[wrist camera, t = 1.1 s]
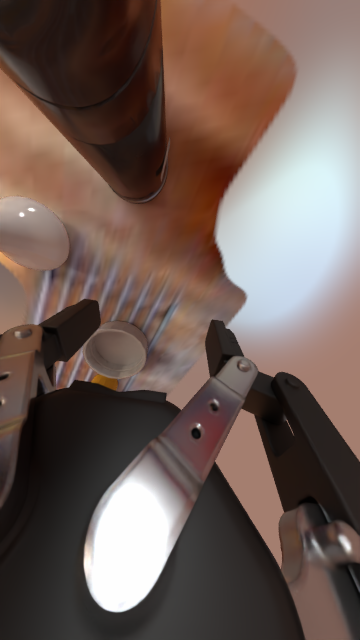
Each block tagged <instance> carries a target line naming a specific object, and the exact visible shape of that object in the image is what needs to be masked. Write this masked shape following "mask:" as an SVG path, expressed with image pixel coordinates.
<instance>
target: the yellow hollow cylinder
mask: <svg viewBox="0 0 360 640" xmlns="http://www.w3.org/2000/svg"><path fill="white" fill-rule="evenodd" d="M91 382H92V383H98V384H101V385H103V386H105V387H108V388H110V389H112V390H115V391H116V389H117V386H118V381H117V379H114V378H108V377H105V376H102V375H100V374H98V375H96V376H95V377H94V378H93V380H92V381H91Z"/></svg>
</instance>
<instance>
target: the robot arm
mask: <svg viewBox="0 0 360 640" xmlns="http://www.w3.org/2000/svg"><path fill="white" fill-rule="evenodd" d="M0 69H1V70H2V71H3V72H4V73H5V74H6V75H7V76H8V77H9V78H10V79H11V80H12V81H13V82H14V84H15V85H16V86H17V87H18V88H19V89H20V90H21V91H22V92H23V93H24V94H25V95H26V96H27V97H28V99H29V100H30V101H31V102H32V103H33V104H34V105H35V106H36V107H37V108H38V109H39V110H40V111H41V113H42V114H43V115H45V117H46V118H47V119H48V120H49V121H50V122H51V123H52V124H53V125H54V126H55V127H56V128H57V129H58V130H59V132H60V133H61V134H62V135H63V136H64V137H65V138H66V139H67V140H68V141H69V142H70V143H71V144H72V146H73V147H74V148H75V149H76V150H77V151H78V152H79V153H80V154H81V155H82V156H83V157H84V158H85V159H86V161H87V162H88V163H89V164H90V165H91V166H92V167H93V168H94V169H95V170H96V171H97V172H98V173H99V175H100V176H101V177H102V178H103V179H104V180H105V181H106V182H107V183H108V185H109V186H110V187H111V188H112V190H113V191H114V192H115V193H116V194H117V195H118V196H120V197H121V198H123V199H124V200H126V201H129V202H132V203H145V202H148V201H150V200H152V199H154V198H155V197H156V196H157V195H158V194H159V193H160V191H161V190H162V188H163V186H164V184H165V181H166V177H167V171H168V157H167V155H168V151H169V147H170V138H169V142H168V147H167V144H166V119H165V94H164V70H163V46H162V26H161V2H160V0H0ZM100 323H101V319H100V311H99V304H98V302H97V301H96V300H89V299H83V300H82V301H80V302H78V303H77V304H75V305H72V306H69V307H67V308H65V309H63V310H62V311H61V312H59V313H57V314H56V315H54V316H52V317H50V318H49V319H47V320H45V321H44V322H42V323H41V324H39V325H34V324H28V325H21V326H17V327H14V328H11V329H9V330H7V331H6V332H4V334H1V335H0V640H360V462H359V460H358V459H357V457H356V456H355V455H354V453H353V452H352V450H351V449H350V447H349V446H348V445H347V443H346V442H345V440H344V439H343V438H342V436H341V435H340V434H339V432H338V431H337V429H336V428H335V426H334V425H333V423H332V422H331V421H330V419H329V418H328V416H327V415H326V414H325V412H324V411H323V409H322V408H321V407H320V405H319V404H318V402H317V401H316V399H315V398H314V397H313V395H312V394H311V393H310V391H309V390H308V388H307V387H306V385H305V384H304V383H303V382H302V381H300V380H299V379H298V378H296V377H295V376H293V375H291V374H288V373H285V372H279V373H277V374H276V375H275V377H271V376H269V375H266V374H263V373H261V372H259V371H258V369H257V366H256V365H255V364H254V363H253V362H252V361H251V360H249V359H247V358H245V357H244V355H243V353H242V350H241V348H240V346H239V344H238V342H237V340H236V337H235V335H234V333H232V331H231V330H230V329H226V328H225V325H224V323H223V321H219V320H213V319H212V320H211V323H210V326H209V329H208V333H207V336H206V341H205V347H206V353H207V360H208V367H209V373H210V378H209V380H208V381H207V382H206V383H205V384H204V385H203V387H201V389H200V390H199V391H198V392H197V393H196V394H195V395H194V397H193V398H192V399H191V400H190V401H189V402H188V404H187V405H186V406H185V407H184V408H183V409H182V410H180V409H179V408H178V407H177V406H175V405H174V404H172V403H170V402H168V401H166V394H167V393H163V392H156V391H149V390H138V391H127V392H117V391H115V390H112V389H110V388H108V387H105V386H103V385H101V384H98V383H92V382H85V381H78V380H75V381H74V382H73V383H72V384H71V386H70V387H69V388H63V389H59V390H56V367H55V364H54V363H55V362H56V361H64V362H67V361H68V360H69V359H70V358H71V357H72V356H73V355H74V354H75V353H76V352H77V351H78V350H79V349H80V348H81V347H82V346H83V344H84V343H85V342H86V341H87V340H88V339H89V338H90V337H91V336H92V335H93V334H94V333H95V332H96V331H97V330H98V328H99V327H100ZM241 409H244V410H246V411H248V412H250V413H252V414H254V415H255V419H256V422H257V425H258V429H259V432H260V435H261V438H262V442H263V445H264V448H265V451H266V455H267V458H268V461H269V465H270V468H271V471H272V474H273V477H274V481H275V484H276V487H277V490H278V494H279V497H280V500H281V504H282V507H283V510H284V514H283V515H282V516H281V518H280V521H279V538H280V543H281V551H282V566H281V569H280V567H279V565H278V564H277V562H276V560H275V558H274V556H273V554H272V553H271V551H270V549H269V548H268V546H267V545H266V543H265V541H264V540H263V538H262V537H261V535H260V533H259V532H258V530H257V529H256V527H255V525H254V524H253V522H252V520H251V519H250V518H249V516H248V514H247V512H246V511H245V509H244V508H243V506H242V504H241V503H240V501H239V499H238V498H237V496H236V495H235V493H234V491H233V490H232V488H231V487H230V485H229V483H228V482H227V480H226V478H225V477H224V475H223V474H222V472H221V470H220V469H219V467H218V466H217V464H216V462H215V460H216V458H217V456H218V454H219V452H220V450H221V448H222V446H223V443H224V442H225V440H226V438H227V436H228V434H229V432H230V429H231V428H232V426H233V424H234V422H235V420H236V417H237V416H238V413H239V411H240V410H241ZM286 420H288V423H289V425H290V427H291V429H292V431H293V433H292V431H291V429H290V427H289V425H288V423H287V421H286ZM293 434H294V435H293Z"/></svg>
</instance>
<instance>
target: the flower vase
mask: <svg viewBox="0 0 360 640" xmlns="http://www.w3.org/2000/svg"><path fill="white" fill-rule="evenodd" d="M69 250H70V242H69V237H68V234H67V231H66V229H65V227H64V226H63V224H62V222H61V221H60V219H59V218H58V217H57V216H56V215H55V214H54V212H52V211H51V210H50V209H48V208H47V207H46V206H45V205H43V204H42V203H39V202H37V201H35V200H33V199H31V198H27V197H22V196H6V197H3V198H1V199H0V252H2V253H3V254H4V255H5V256H6V257H8V258H9V259H11V260H12V261H14V262H15V263H17V264H19V265H21V266H24V267H26V268H29V269H34V270H40V271H46V270H53V269H55V268H58V267H60V266H61V265H62V264H63V263H64V262H65V261H66V259H67V257H68V255H69Z"/></svg>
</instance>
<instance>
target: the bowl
mask: <svg viewBox="0 0 360 640" xmlns="http://www.w3.org/2000/svg"><path fill="white" fill-rule="evenodd" d="M147 353H148V341H147V339H146V337H145V335H144V334H143V333H142V332H141V331H140V330H139V329H138V328H137V327H136V326H134V325H131V324H129V323H127V322H121V321H112V322H106V323H104V324H102V325H100V327H99V328H98V330H97V331H96V332H95V333H94V334H93V335H92V336H91V337H90V338H89V339H88V340H87V341H86V342H85V343H84V346H83V355H84V359H85V361H86V363H87V364H88V365H89V367H90V368H91V369H92V370H94V371H95V372H97V373H98V374H100V375H102V376H105V377H108V378H114V379H123V378H129V377H131V376H133V375H135V374H137V373H138V372H139V371H140V370H141V369H142V368H143V367H144V364H145V361H146V358H147Z"/></svg>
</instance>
